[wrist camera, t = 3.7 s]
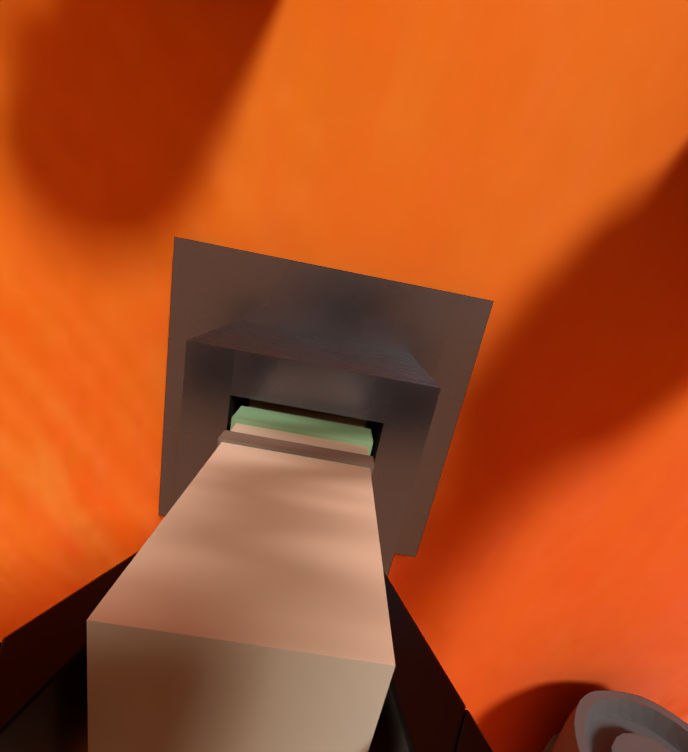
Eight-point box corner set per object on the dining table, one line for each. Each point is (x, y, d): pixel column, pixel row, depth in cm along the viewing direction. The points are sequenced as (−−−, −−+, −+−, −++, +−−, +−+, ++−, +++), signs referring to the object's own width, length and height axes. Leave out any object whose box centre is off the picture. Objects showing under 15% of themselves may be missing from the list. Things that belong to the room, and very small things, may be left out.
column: (367, 411, 13) (409, 660, 5) (345, 507, 14) (345, 850, 6) (253, 390, 13) (74, 609, 4) (241, 490, 14) (79, 818, 5)
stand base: (486, 299, 16) (588, 315, 9) (413, 546, 20) (448, 684, 13) (183, 238, 15) (56, 207, 9) (166, 505, 19) (68, 629, 12)
